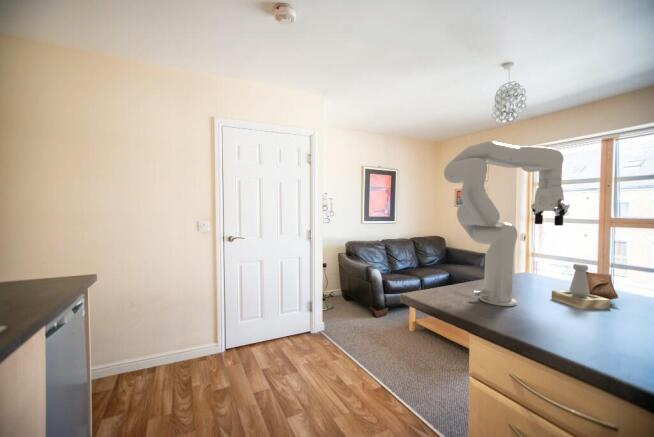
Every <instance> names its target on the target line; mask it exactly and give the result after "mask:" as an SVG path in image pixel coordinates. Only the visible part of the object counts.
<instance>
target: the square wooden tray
mask: <svg viewBox="0 0 654 437" xmlns="http://www.w3.org/2000/svg"><path fill="white" fill-rule="evenodd" d="M551 299H552V300H554V301H557V302H560V303H563V304H566V305H568V306H571V307H573V308H577V309H579V310H594V309H595V310H598V309H604V310H605V309H607V308H611V300H609V299H606V298H603V297H599V296H596V295H592V294H589V295H588V297H587V298H577V297H574V296H572V294H571V292H570V289H569V290H566V289H564V290H551ZM607 310H608V309H607Z"/></svg>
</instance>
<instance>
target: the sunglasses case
mask: <svg viewBox="0 0 654 437" xmlns="http://www.w3.org/2000/svg"><path fill="white" fill-rule="evenodd" d="M586 275H587V280H588V286H589V291H590V294H592V295H596V296H599V297H603V298H606V299H609V300H610V301H611V300H616V299H618V298H619V295H618V293H617V291H616V290H615V287H614V284H613V282H612V274H610V273H609V274H606V273H597V272H589V271H586Z"/></svg>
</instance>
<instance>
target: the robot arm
mask: <svg viewBox="0 0 654 437" xmlns="http://www.w3.org/2000/svg"><path fill="white" fill-rule="evenodd" d="M563 163H564V155H563V154H562V152H561V151H559V150H558V149H556V148H551V147H548V146H547V147H546V146H530V145H529V146H527V145H523V146H522V145H521V146H520V145H512V144H508V143H504V142H503V143H502V142H498V141H492V140H491V141H484V142H480V143H476V144H474V145H473V144H472V145H470V146H468V147H467V148H464V150H462V151H461V152H459V154H458V155H456V156H455V157H454V158H453V159H452V160H450V162H448V163H447V164H446V166H445V167H444V170H443V176H444V179H445V180H446V181H447V182H449V183H452V184H458V183H463V184H462V186H461V191H460V199H461V201H462V204H460V205H459V206H458V208H457V211H456V218H457V220H458V222H459V224H460V225H461V227H462V228H463V229H464V230H465V232H466V233H467V235H468V237H470V238H471V239H472V240H473V241H474V242H476V243H477V244H483V245H489V247H488V249H487V250H486V253H485V256H484V283H483V284H484V285H483V287H481V289H480V290H473V291H472V296H473V297H477V296H478V297H479V300H480V301H482V302H484V303H486V304H489V305H493V306H500V307H514V306H516V305H517V300H516V299H515V298H513V284H514V283H513V282H514V281H513V280H514V278H513V277H514V253H515V246H516V243H517V240H518V230H517V228H516V227H515V226H514V225H513V224H511V223H510V222H505V221H500V218H501V215H500V212H499V210H498V208H497V206H496V205H495V204H494V202H493V201H492V199H491V198H490V196H489V195H488V193H487V192H486V189H485V181H486V177H487V173H488V165H492V166H498V167H503V168H506V169H507V168H508V169H514V168H515V169H517V168H521V170H522V171H524V172H527V173H536V172H538V184H537V185H538V187H537V188H536V189H535V193H534V201H533V202H534V203H532V204H531V206H530V207H531V210H532V213H533V215H534V224H535V225H542V224H543V222H544V221H543V220H544V215H543V213H544V212H554V213H555V216H554V222H553V223H554V224H553V225H554V226H558V227H559V226H561V227H562V226H563V225H564V216H566V214H567V212H568V210H569V208H570V204H569V203H567V202H565V201H564V200H565V199H564V198H565V197H564V189H563V187H562V177H563Z"/></svg>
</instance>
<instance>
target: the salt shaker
mask: <svg viewBox="0 0 654 437" xmlns="http://www.w3.org/2000/svg"><path fill="white" fill-rule="evenodd" d="M572 269H573V270H574V274H573V277H572V280H571V282H570V287H569V290H570V292H571V294H572V296H574V297H577V298H587V297H588V295H589V294H590V291H589V286H588V280H587V275H586V272H588V270H589V266H588V265H587V264H584V263H573V266H572Z"/></svg>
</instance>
